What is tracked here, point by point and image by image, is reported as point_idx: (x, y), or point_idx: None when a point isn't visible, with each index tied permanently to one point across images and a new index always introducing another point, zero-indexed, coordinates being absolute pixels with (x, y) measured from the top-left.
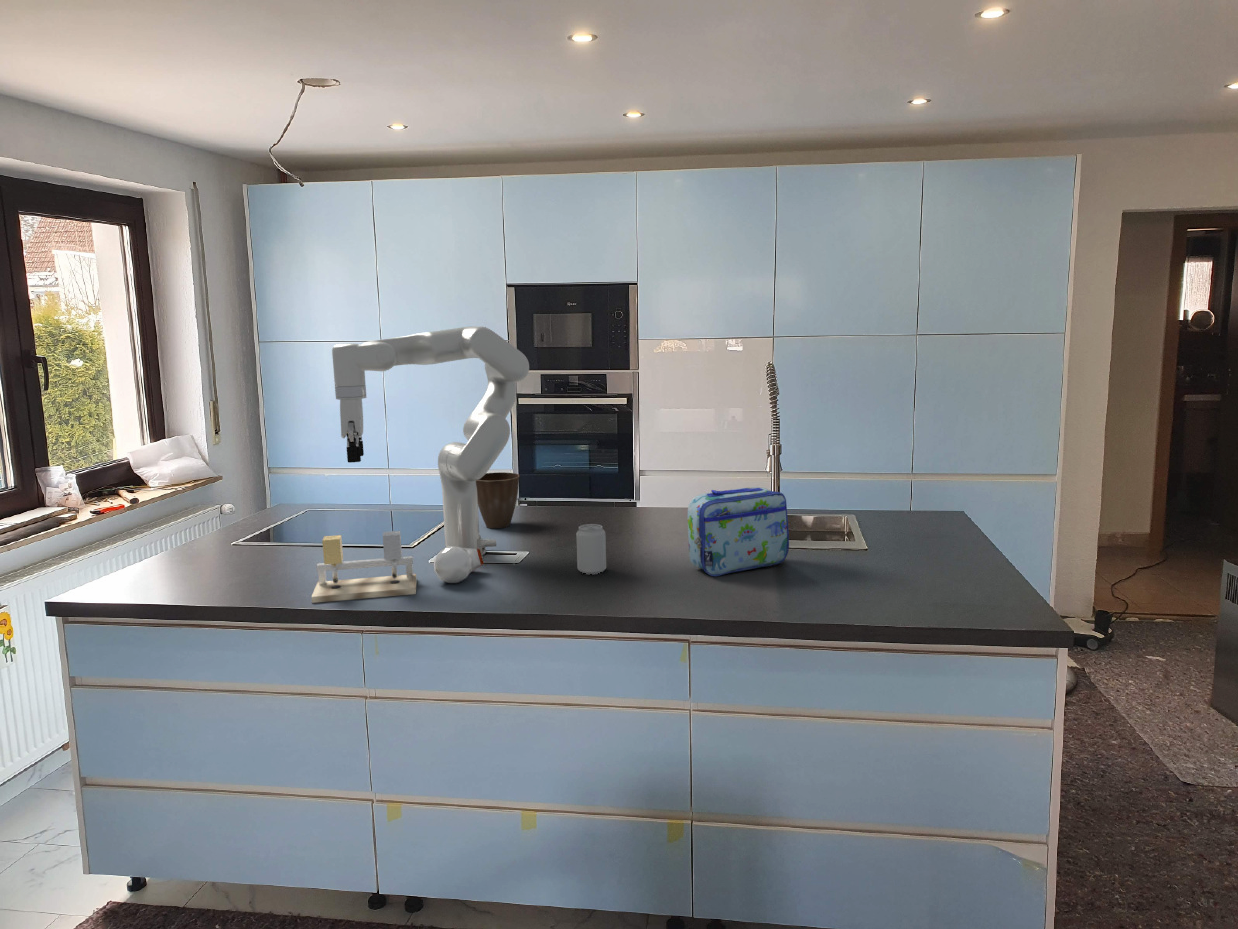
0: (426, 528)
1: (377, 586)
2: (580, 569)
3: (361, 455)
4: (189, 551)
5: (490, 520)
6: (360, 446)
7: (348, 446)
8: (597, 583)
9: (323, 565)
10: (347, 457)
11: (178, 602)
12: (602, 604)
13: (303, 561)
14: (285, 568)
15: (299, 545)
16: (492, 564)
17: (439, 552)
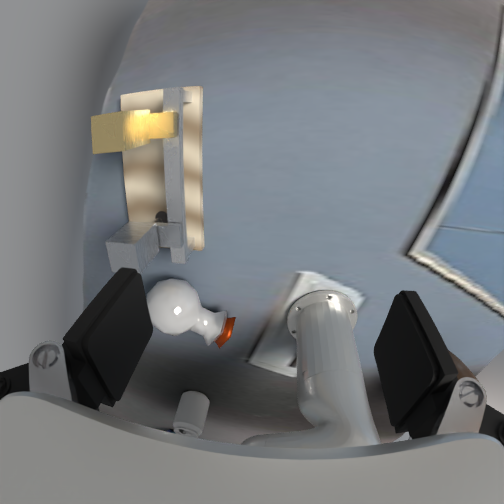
0: (485, 279)
1: (147, 191)
2: (187, 392)
3: (376, 343)
4: None
5: None
6: (391, 390)
7: (47, 350)
8: (158, 388)
9: (163, 101)
10: (106, 284)
11: None
12: None
13: (398, 61)
14: (359, 27)
15: (491, 79)
16: (252, 341)
17: (158, 305)
